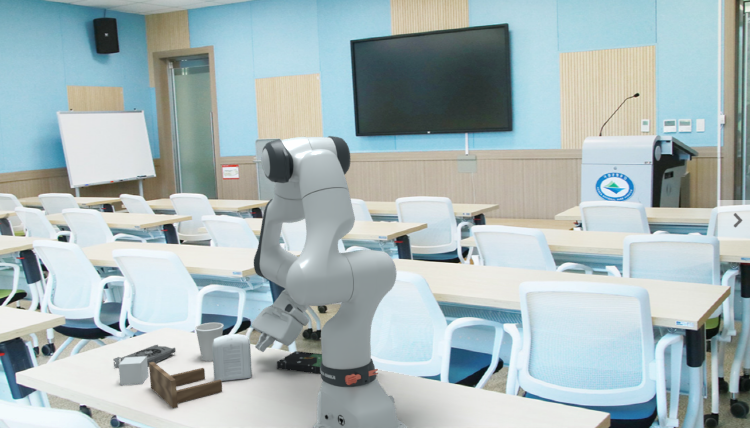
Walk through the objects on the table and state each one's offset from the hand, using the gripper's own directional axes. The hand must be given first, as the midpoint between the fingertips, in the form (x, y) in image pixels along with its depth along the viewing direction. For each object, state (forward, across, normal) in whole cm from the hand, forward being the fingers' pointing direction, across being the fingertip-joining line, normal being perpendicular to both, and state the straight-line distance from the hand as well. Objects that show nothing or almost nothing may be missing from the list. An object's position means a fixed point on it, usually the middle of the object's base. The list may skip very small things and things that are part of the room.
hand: (258, 349), depth 188 cm
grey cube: (+26, -17, -17) cm, 35 cm away
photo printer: (+10, 0, -1) cm, 10 cm away
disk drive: (-4, +5, +14) cm, 15 cm away
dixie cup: (+9, -21, 0) cm, 23 cm away
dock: (+19, +1, -10) cm, 22 cm away
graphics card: (+20, -31, -10) cm, 39 cm away
